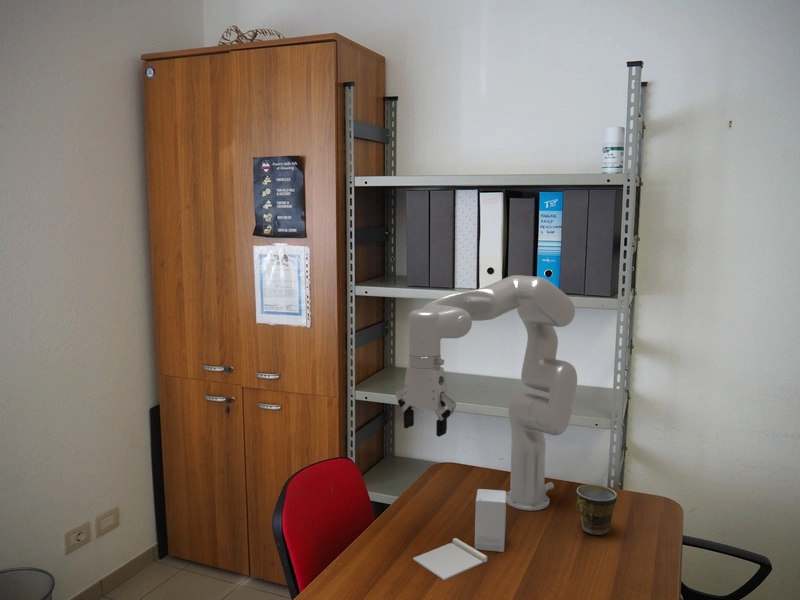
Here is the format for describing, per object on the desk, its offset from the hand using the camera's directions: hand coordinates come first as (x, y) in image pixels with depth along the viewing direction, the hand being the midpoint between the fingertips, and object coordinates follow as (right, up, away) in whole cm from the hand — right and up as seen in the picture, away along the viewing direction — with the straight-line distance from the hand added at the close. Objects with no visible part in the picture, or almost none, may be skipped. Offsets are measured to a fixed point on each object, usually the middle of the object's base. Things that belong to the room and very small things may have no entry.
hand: (424, 430), depth 151 cm
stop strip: (+11, -29, 0) cm, 31 cm away
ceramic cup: (+44, -29, +11) cm, 53 cm away
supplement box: (+16, -29, +4) cm, 34 cm away
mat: (+5, -30, -4) cm, 31 cm away
